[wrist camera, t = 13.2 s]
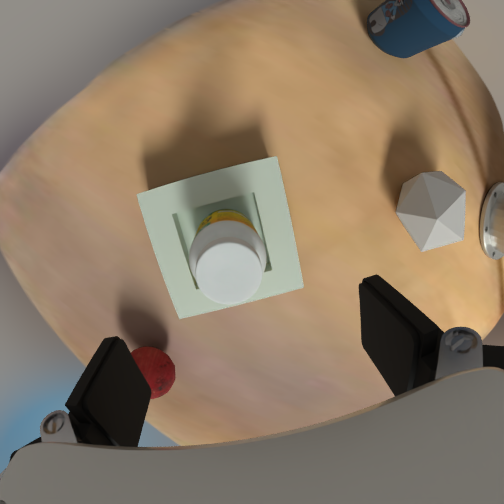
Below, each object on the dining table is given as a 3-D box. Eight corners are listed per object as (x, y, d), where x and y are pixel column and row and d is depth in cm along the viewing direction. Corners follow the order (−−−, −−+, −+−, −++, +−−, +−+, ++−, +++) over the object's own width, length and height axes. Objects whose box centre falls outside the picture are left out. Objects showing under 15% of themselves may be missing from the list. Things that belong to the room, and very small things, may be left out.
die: (368, 217, 29) (426, 279, 24) (397, 151, 23) (473, 213, 17) (405, 207, 32) (456, 257, 27) (432, 152, 26) (492, 203, 21)
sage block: (268, 157, 26) (276, 156, 22) (293, 271, 29) (303, 287, 26) (148, 190, 25) (136, 194, 22) (184, 299, 29) (179, 318, 25)
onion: (177, 335, 30) (167, 382, 23) (180, 372, 32) (173, 419, 24) (129, 331, 30) (109, 374, 22) (136, 367, 31) (121, 412, 24)
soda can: (418, 52, 23) (482, 27, 11) (386, 68, 23) (455, 38, 12) (386, 9, 21) (441, -29, 9) (351, 21, 21) (405, -27, 10)
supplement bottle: (245, 270, 27) (257, 324, 17) (190, 255, 26) (174, 303, 16) (263, 217, 25) (287, 246, 16) (206, 199, 24) (196, 219, 15)
